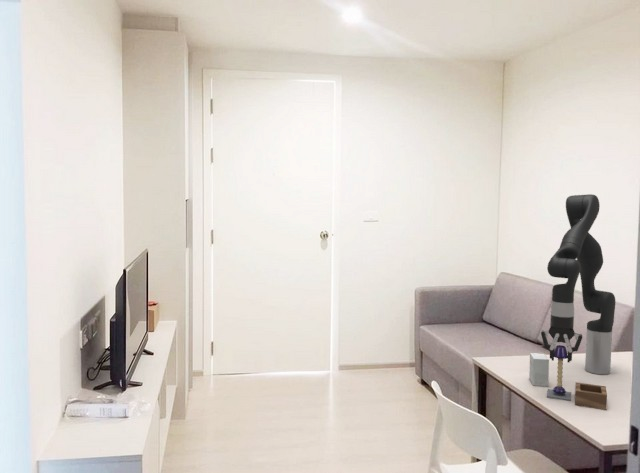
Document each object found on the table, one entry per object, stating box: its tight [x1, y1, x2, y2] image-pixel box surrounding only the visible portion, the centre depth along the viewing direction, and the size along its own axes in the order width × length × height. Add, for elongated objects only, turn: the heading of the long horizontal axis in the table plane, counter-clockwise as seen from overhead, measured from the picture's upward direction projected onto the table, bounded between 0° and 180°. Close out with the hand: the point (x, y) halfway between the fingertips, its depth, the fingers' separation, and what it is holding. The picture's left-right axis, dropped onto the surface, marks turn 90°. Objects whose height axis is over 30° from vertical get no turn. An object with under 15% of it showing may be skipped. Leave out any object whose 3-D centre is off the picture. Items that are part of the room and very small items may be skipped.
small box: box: [528, 352, 550, 387], centre depth 208 cm, size 8×6×10 cm
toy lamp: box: [552, 344, 568, 394], centre depth 195 cm, size 5×5×17 cm
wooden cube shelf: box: [574, 381, 608, 411], centre depth 189 cm, size 10×10×5 cm
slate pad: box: [546, 388, 572, 402], centre depth 195 cm, size 8×8×1 cm
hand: (560, 360), depth 195 cm, fingers closed on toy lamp, 4 cm apart
